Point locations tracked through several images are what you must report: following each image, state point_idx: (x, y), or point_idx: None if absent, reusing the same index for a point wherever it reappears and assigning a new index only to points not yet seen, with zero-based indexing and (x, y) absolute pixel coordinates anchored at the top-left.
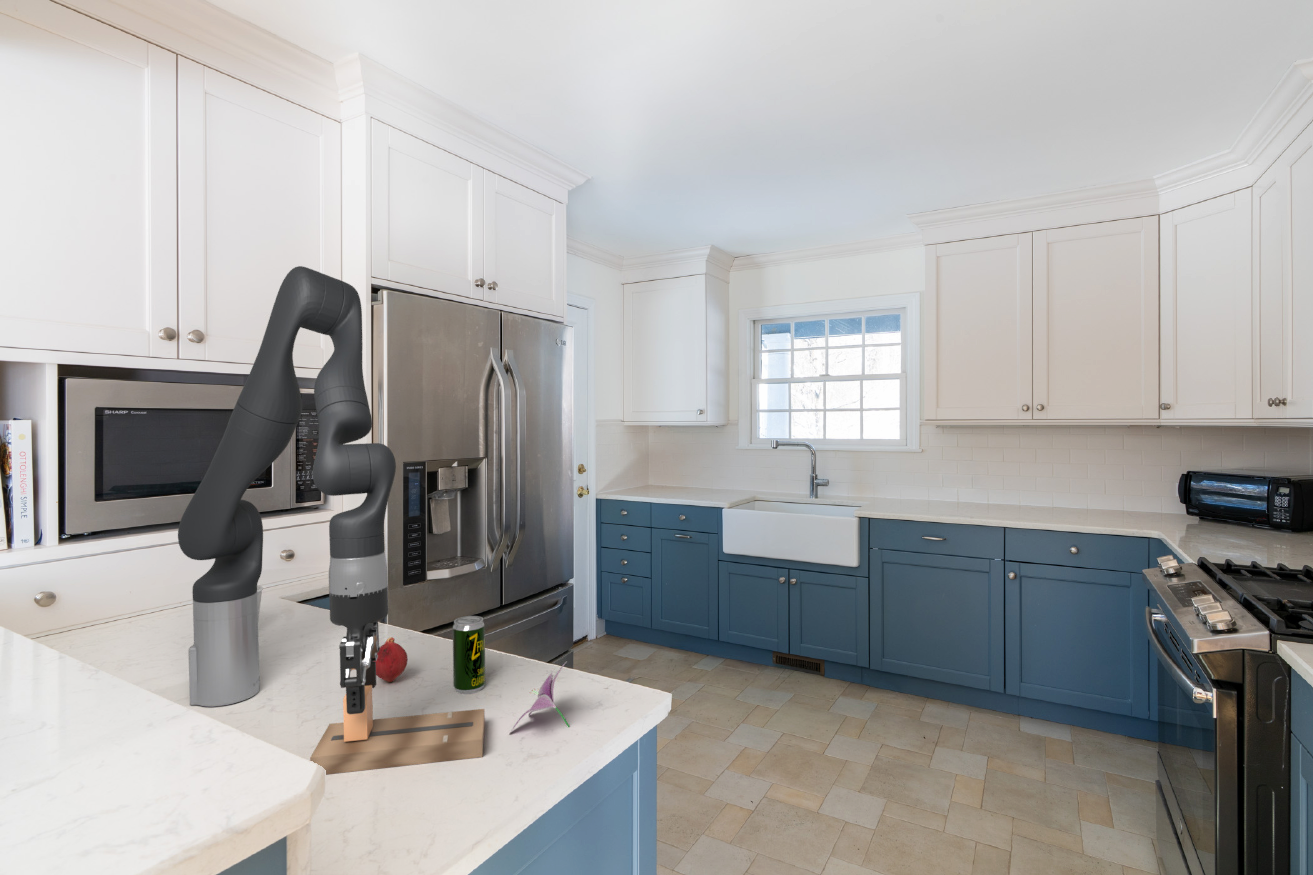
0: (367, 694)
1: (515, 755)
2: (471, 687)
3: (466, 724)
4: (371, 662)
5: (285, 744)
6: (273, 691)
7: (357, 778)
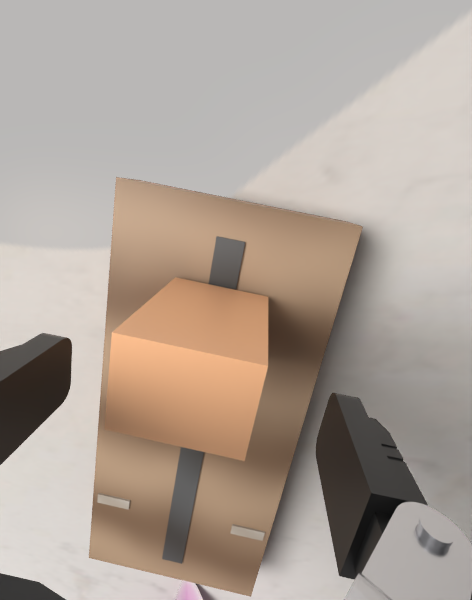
0: (129, 433)
1: (96, 562)
2: None
3: (173, 550)
4: (356, 563)
5: (396, 75)
6: None
7: (92, 293)
